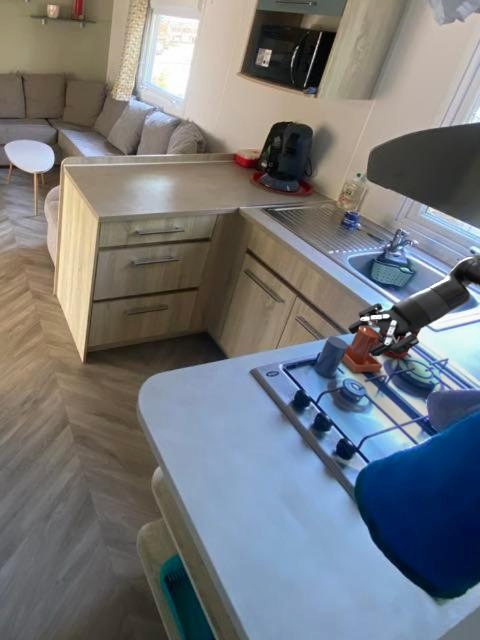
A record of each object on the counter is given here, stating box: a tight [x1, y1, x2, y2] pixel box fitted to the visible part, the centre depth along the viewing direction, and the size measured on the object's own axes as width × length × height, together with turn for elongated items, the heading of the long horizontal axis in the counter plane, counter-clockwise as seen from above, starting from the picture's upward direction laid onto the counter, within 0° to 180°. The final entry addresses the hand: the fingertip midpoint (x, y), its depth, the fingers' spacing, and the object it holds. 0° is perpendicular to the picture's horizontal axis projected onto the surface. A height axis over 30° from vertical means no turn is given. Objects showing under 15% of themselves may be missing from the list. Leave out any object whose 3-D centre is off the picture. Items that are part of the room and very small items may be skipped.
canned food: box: [374, 328, 422, 359], centre depth 116 cm, size 8×8×11 cm
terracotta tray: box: [341, 344, 383, 373], centre depth 111 cm, size 8×8×2 cm
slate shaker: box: [314, 335, 349, 378], centre depth 104 cm, size 5×5×9 cm
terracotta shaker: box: [346, 326, 379, 365], centre depth 109 cm, size 5×5×9 cm
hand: (360, 342), depth 108 cm, fingers open, 8 cm apart
